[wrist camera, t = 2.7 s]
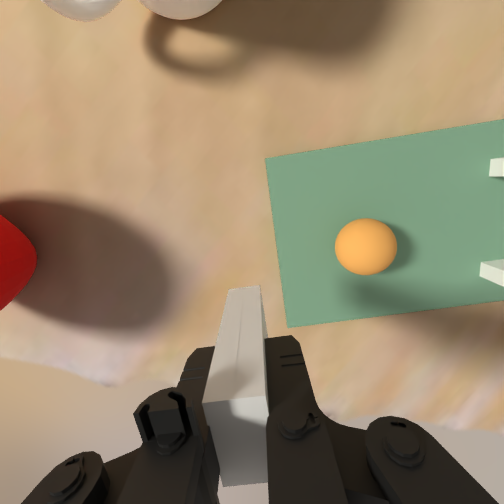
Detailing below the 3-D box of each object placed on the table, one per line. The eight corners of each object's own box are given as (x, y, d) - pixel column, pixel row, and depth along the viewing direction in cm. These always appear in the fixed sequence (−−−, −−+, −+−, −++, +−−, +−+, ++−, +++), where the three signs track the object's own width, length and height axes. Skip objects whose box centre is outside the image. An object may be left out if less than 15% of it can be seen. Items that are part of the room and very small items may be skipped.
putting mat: (265, 159, 19) (265, 158, 18) (610, 102, 18) (622, 99, 17) (286, 324, 23) (287, 327, 22) (572, 287, 22) (580, 290, 21)
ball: (326, 218, 20) (343, 228, 16) (379, 210, 19) (410, 218, 16) (330, 267, 21) (347, 288, 17) (380, 260, 21) (409, 279, 17)
